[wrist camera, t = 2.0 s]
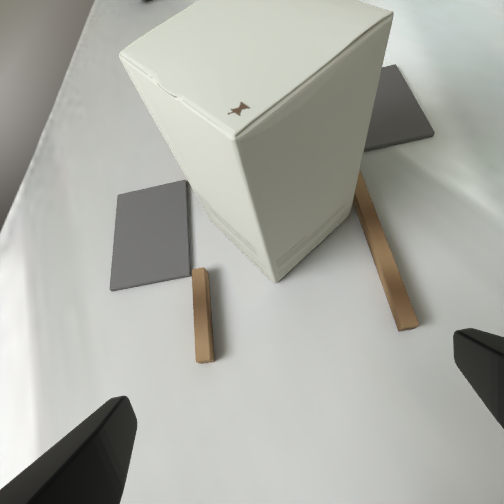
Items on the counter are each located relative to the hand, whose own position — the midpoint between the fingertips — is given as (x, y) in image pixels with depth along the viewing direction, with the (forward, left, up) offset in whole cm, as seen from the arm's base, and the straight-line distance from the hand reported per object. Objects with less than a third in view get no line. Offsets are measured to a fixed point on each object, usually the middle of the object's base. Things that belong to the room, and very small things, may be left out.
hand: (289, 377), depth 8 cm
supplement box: (+14, -1, -14) cm, 19 cm away
